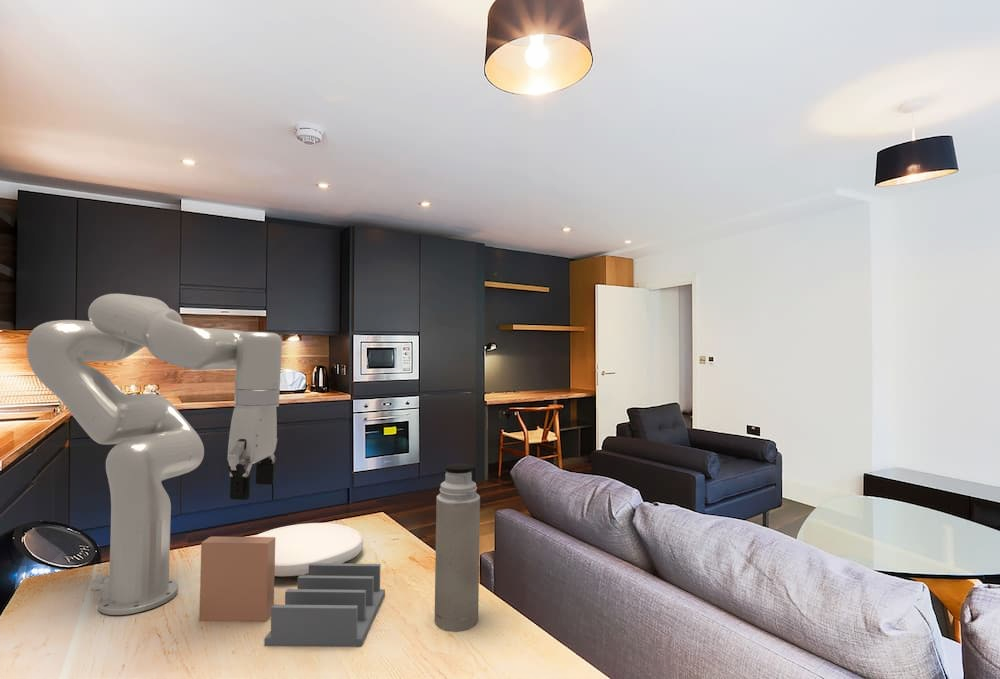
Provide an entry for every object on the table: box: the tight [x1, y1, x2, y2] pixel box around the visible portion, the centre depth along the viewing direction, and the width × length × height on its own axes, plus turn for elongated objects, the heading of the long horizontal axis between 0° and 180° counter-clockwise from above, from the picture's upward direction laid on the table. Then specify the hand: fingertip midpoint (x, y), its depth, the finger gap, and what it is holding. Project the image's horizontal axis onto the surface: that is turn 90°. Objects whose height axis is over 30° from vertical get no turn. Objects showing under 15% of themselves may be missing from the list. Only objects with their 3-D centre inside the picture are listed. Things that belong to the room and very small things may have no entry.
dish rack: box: [263, 563, 386, 647], centre depth 92 cm, size 16×18×6 cm
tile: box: [198, 535, 276, 623], centre depth 92 cm, size 12×3×14 cm, turn 90°
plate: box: [253, 522, 364, 577], centre depth 118 cm, size 28×6×27 cm
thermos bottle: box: [434, 463, 481, 632], centre depth 93 cm, size 8×8×28 cm
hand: (252, 491), depth 93 cm, fingers open, 9 cm apart
